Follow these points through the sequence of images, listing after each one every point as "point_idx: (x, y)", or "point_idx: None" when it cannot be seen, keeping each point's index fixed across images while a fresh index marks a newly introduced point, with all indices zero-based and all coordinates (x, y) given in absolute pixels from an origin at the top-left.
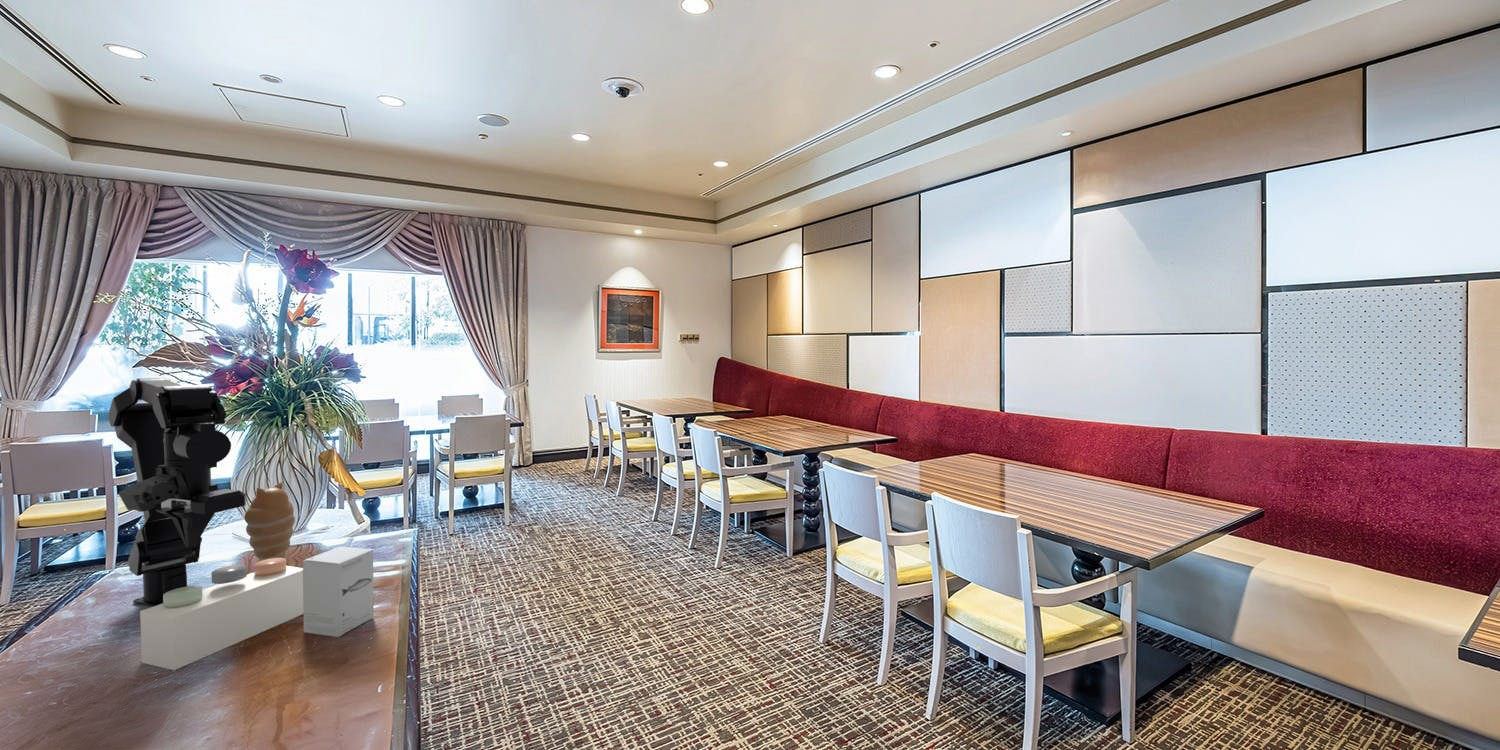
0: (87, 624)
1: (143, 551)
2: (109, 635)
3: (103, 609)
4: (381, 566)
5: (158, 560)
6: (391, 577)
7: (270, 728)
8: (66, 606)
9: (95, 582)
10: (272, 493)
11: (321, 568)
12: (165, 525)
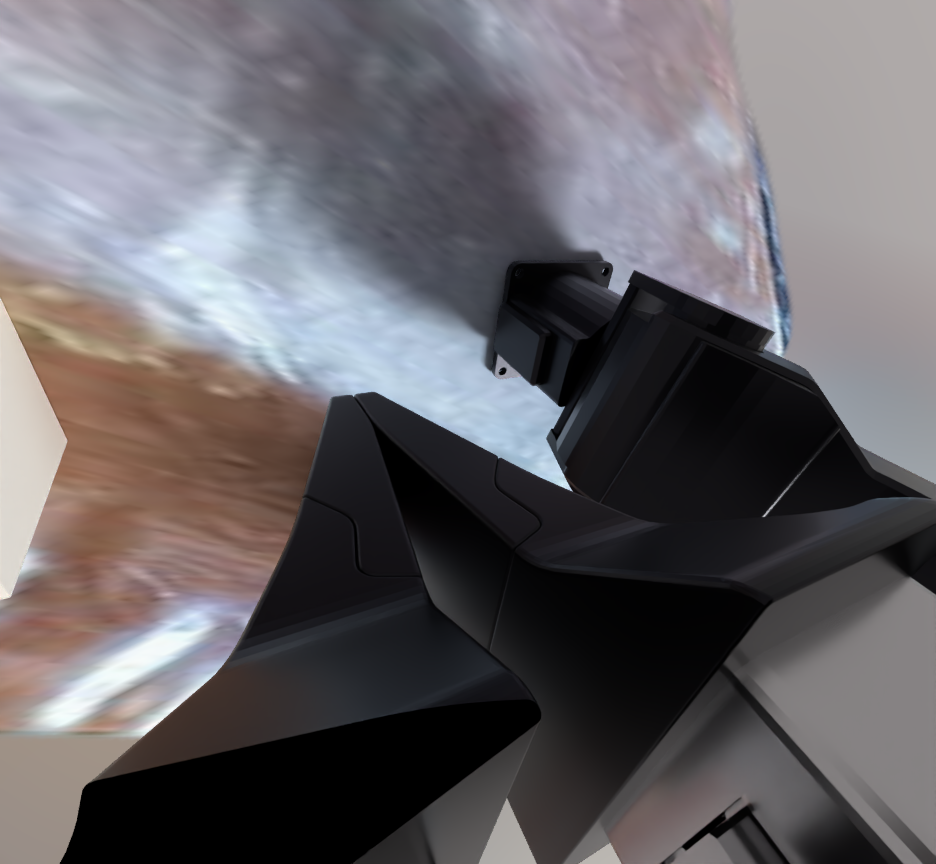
0: (605, 85)
1: (692, 320)
2: (433, 3)
3: (650, 201)
4: (172, 696)
5: (612, 340)
6: (8, 709)
7: None
8: (753, 184)
9: (779, 313)
10: None
11: None
12: (740, 468)
